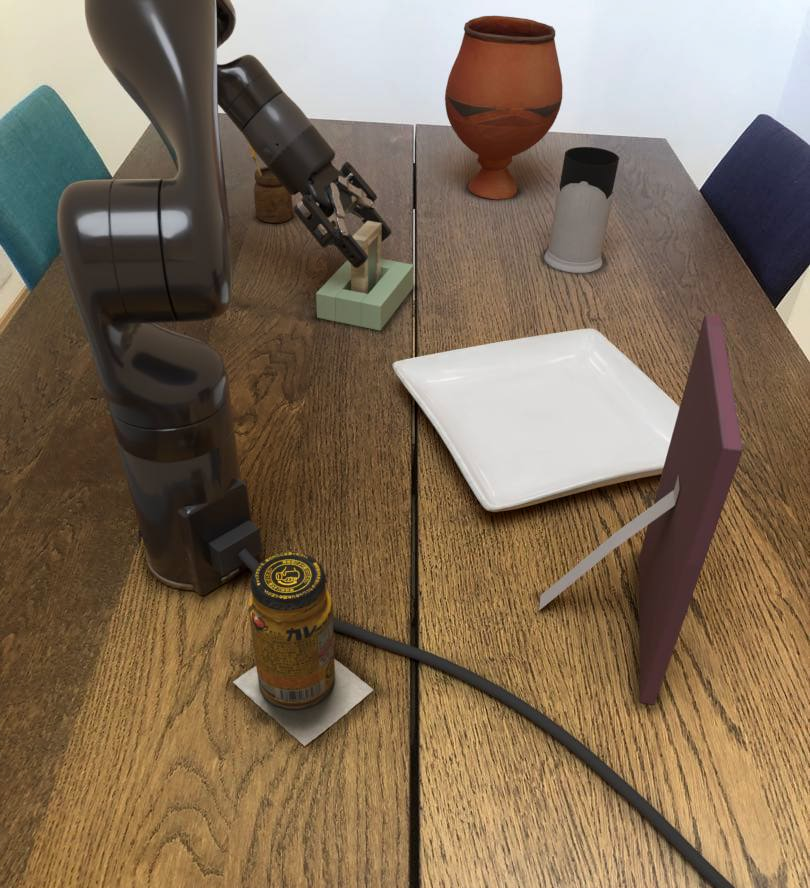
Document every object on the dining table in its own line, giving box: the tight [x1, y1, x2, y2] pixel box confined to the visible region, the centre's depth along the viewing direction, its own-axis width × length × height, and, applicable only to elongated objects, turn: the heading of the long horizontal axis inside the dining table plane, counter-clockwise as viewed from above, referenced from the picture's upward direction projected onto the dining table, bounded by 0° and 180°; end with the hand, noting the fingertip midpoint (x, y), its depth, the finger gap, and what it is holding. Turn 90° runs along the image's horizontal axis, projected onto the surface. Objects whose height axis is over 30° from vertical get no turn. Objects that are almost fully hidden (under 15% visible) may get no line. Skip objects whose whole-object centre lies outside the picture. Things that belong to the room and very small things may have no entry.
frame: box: [351, 221, 382, 294], centre depth 108 cm, size 2×6×10 cm, turn 161°
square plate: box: [391, 327, 680, 513], centre depth 90 cm, size 27×27×4 cm
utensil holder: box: [246, 139, 294, 224], centre depth 128 cm, size 6×6×12 cm
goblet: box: [444, 15, 564, 200], centre depth 134 cm, size 19×19×25 cm
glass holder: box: [543, 146, 620, 274], centre depth 120 cm, size 9×14×15 cm, turn 161°
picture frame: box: [538, 314, 744, 706], centre depth 63 cm, size 17×10×25 cm, turn 168°
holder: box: [315, 258, 415, 331], centre depth 110 cm, size 9×13×4 cm
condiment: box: [232, 551, 374, 747], centre depth 61 cm, size 7×8×12 cm
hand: (374, 250), depth 106 cm, fingers open, 8 cm apart
